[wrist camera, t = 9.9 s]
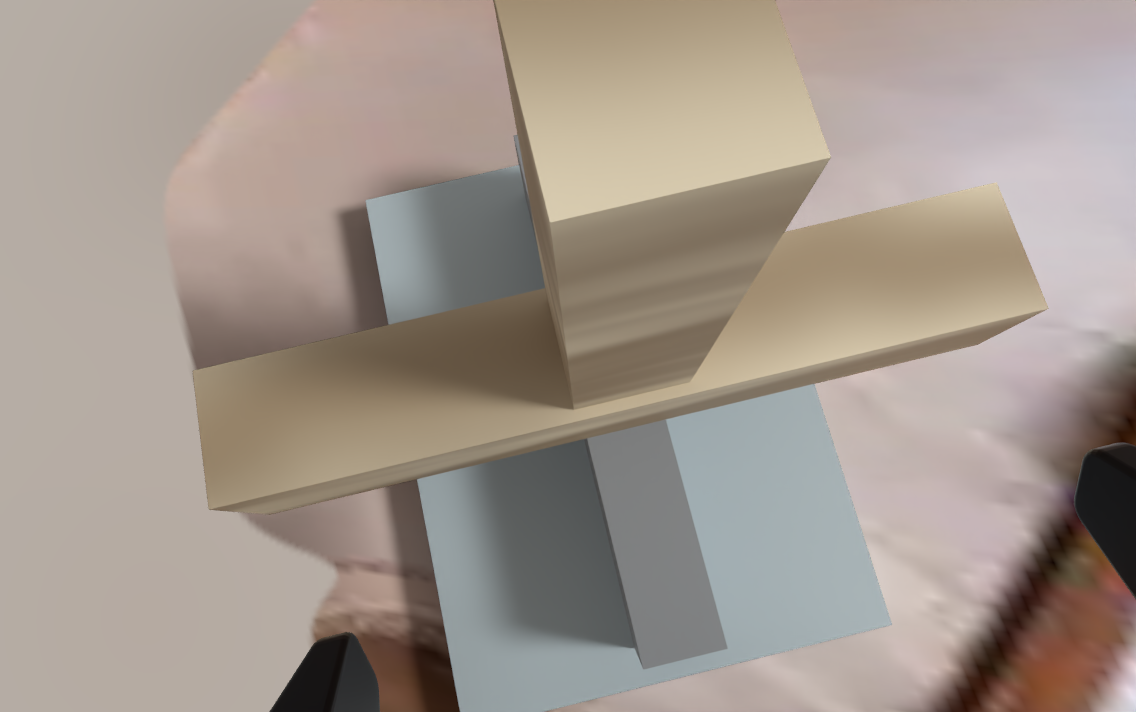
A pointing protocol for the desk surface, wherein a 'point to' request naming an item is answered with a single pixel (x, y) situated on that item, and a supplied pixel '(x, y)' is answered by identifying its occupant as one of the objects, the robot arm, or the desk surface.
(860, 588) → the stand
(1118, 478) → the robot arm
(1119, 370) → the desk surface
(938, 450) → the desk surface
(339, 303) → the desk surface
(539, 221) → the t bar
